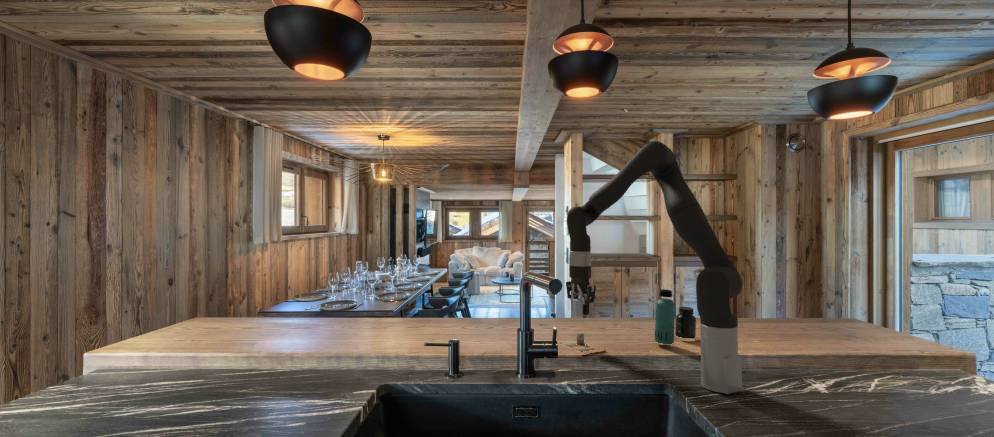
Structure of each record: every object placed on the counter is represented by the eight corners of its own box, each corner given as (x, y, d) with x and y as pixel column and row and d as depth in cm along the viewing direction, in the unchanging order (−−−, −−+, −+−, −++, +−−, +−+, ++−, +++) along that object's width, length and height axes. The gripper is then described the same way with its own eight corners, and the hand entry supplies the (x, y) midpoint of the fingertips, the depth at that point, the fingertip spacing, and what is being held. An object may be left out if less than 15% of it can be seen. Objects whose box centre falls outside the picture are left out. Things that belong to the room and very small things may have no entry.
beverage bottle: (671, 343, 157) (672, 288, 156) (676, 350, 151) (678, 292, 149) (652, 342, 158) (653, 287, 157) (656, 349, 151) (658, 291, 150)
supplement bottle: (671, 338, 164) (672, 306, 163) (686, 336, 166) (687, 305, 166) (683, 344, 158) (685, 311, 157) (699, 342, 160) (700, 309, 159)
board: (605, 351, 149) (605, 336, 149) (581, 356, 144) (581, 340, 144) (582, 343, 159) (582, 329, 159) (560, 347, 155) (559, 332, 155)
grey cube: (591, 315, 152) (591, 299, 152) (578, 316, 149) (578, 301, 149) (581, 312, 156) (581, 297, 156) (569, 313, 154) (569, 298, 154)
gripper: (602, 265, 148) (602, 316, 148) (576, 262, 161) (576, 308, 161) (584, 266, 145) (584, 318, 145) (559, 262, 158) (559, 310, 157)
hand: (580, 313), depth 153 cm, fingers closed on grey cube, 5 cm apart
